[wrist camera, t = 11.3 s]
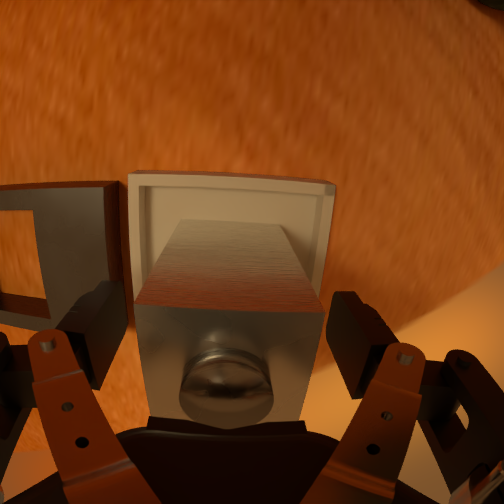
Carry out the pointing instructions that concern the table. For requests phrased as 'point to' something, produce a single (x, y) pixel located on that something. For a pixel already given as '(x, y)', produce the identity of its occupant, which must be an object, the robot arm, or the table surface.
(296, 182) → the parts tray
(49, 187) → the rack rail
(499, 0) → the coffee jar
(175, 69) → the table surface
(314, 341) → the grey rectangular block
